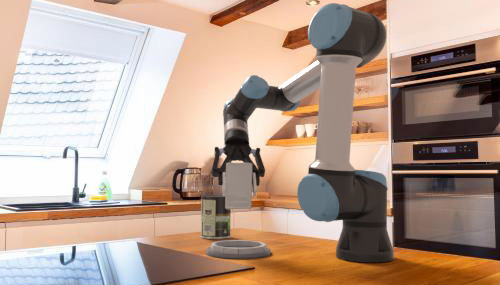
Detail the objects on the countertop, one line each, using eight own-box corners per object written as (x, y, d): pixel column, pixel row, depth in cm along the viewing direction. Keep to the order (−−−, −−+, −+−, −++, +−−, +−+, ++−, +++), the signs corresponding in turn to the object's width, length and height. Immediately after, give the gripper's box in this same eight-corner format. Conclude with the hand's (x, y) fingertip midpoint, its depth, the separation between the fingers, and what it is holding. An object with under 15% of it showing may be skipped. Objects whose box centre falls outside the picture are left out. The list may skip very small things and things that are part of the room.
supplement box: (251, 209, 134) (252, 162, 134) (224, 208, 134) (225, 162, 134) (251, 207, 141) (252, 163, 142) (226, 206, 141) (226, 162, 142)
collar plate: (276, 249, 143) (276, 241, 143) (263, 260, 126) (263, 250, 126) (217, 246, 147) (217, 238, 148) (196, 256, 130) (196, 247, 130)
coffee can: (231, 235, 173) (232, 195, 173) (229, 239, 162) (230, 196, 163) (202, 234, 173) (202, 194, 174) (198, 239, 162) (199, 196, 163)
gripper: (268, 146, 155) (275, 202, 138) (202, 145, 153) (201, 201, 136) (271, 128, 150) (278, 184, 133) (203, 127, 148) (202, 183, 131)
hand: (239, 192), depth 134 cm, fingers closed on supplement box, 8 cm apart
